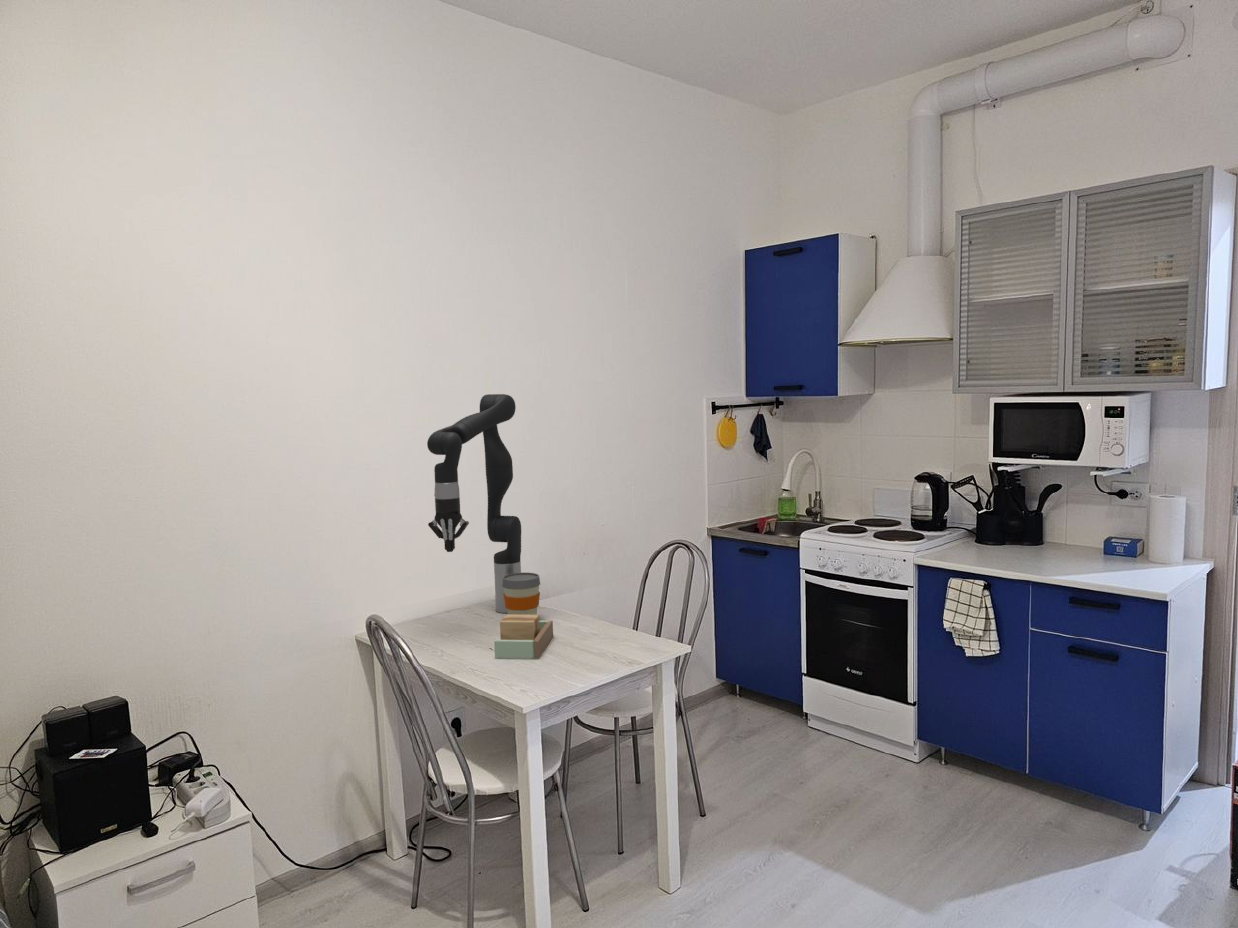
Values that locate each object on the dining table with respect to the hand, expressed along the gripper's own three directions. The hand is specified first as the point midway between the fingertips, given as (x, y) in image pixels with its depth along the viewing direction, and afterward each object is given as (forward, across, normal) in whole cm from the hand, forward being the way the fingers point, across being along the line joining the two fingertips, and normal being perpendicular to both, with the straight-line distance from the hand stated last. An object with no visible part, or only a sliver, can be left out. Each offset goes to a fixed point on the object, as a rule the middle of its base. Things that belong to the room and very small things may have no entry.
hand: (449, 551), depth 254 cm
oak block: (+27, -24, +10) cm, 38 cm away
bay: (+27, -25, +10) cm, 38 cm away
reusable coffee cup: (+27, -18, -17) cm, 37 cm away
